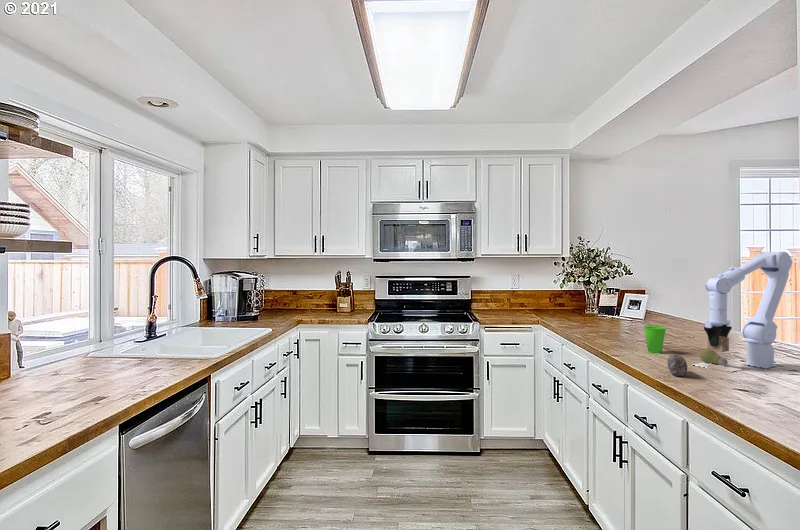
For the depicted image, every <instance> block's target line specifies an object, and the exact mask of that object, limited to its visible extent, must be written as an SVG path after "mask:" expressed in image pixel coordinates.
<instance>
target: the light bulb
mask: <svg viewBox="0 0 800 530" xmlns="http://www.w3.org/2000/svg"><path fill="white" fill-rule="evenodd" d="M698 355H699V357H698V358H699V359H700V360H701V361H702V362H705V363H714V364H719V365H725V366H728V363H729V362H728V360H727V359H725V358H723V357H722V356H720V355H719V354H718V353H716V351H711V350H708V348H703V349H701V350H700V352H699V354H698Z"/></svg>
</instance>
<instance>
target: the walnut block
mask: <svg viewBox="0 0 800 530" xmlns="http://www.w3.org/2000/svg"><path fill="white" fill-rule="evenodd" d="M729 347H730V337H729V336H727V337H720V336H719V341H718V346H717V347H714V346H711V345H710V342H709V338H708V337H707V349H708V350H711V351H714V352H719V353H726V352H729V351H730V348H729Z"/></svg>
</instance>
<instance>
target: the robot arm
mask: <svg viewBox="0 0 800 530" xmlns="http://www.w3.org/2000/svg"><path fill="white" fill-rule="evenodd" d="M793 262H794V261H793V260H792V258H791V255H790V254H789V253H788V252H786V251H779V252H777V251H773V252H772V251H771V252H770V251H769V252H768V251H767V252H766V251H761V252H759V253H757V254H755V255H754V256H753V258H751V259H750V260H748V261H747V262H745V263H744V264H743V265H741V266H739V267H735V266H734V267H729V268H727V271H725V272H723V273H719V274H718V275H717V276H716V277H711V278H709V279H708V280H707V281H706V284H705V285H704V287H705V290H706V291H707V296H708V319H705V322H704V324H705V325H704V326H703V330H704V331H705V333H706V336H707V339H708V338H709V342H710V345H711V346H714V347H717V346H718V341H719V336H720V337H729V336H728V335H729V334H730V332H731V330H732V329H733V327H732V326H731V320H730V319H728V293H730V292H731V291H732V287H734V286H736V285H738V284H739V283H741V282H743V281H744V280H745V279H746V276H747V275H748V274H750V273H754V271H757V270H759V269H760V270H761V271H762V272H763V273H764V274H765V275H766V276H767V278H768V280H767V283H766V286H765V288H764V291H763V294H762V297H761V299H760V302H759V305H758V307H757V311H756V313H755V315H754V316H752V317H750V318H748V319H747V321H746V323H745V324H744V325H743V327H742V329H741V334H742V336H743V338H744V339H745V342H746V346H747V347H746V361H745V362H744V363H743V362H742V364H743V365H744V366H748V365H750V367H754V366H756V368H760V367H761V369H768V368H773V367H776V366H778V365H777V364H776V363H775V348H774V346H773V345H772V344H773V342H775V340H776V338H777V329H778V325H777V324H776V323H775V322H774V321H773V320H774V318H775V314H776V312H777V309H778V307H779V304H780V301H781V299H782V295H783V293H784V291H785V288H786V286H787V285H786V284H787V283H788V280H789V272H790V270H791V267H792V264H793ZM742 364H741V365H742Z"/></svg>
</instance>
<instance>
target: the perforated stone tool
mask: <svg viewBox="0 0 800 530" xmlns="http://www.w3.org/2000/svg"><path fill="white" fill-rule="evenodd" d="M666 362H667V368H668V370H669V372H670V373H671V374H672V375H673V376H677V377H684V376H686V375H687V373H688V368H689V367H688V364H687V363H688V362H687V360H686V359H685V358H684V357H683V356H681V355H680V354H673V353H672V354H670V355H669V356H668V359H667V361H666Z"/></svg>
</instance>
